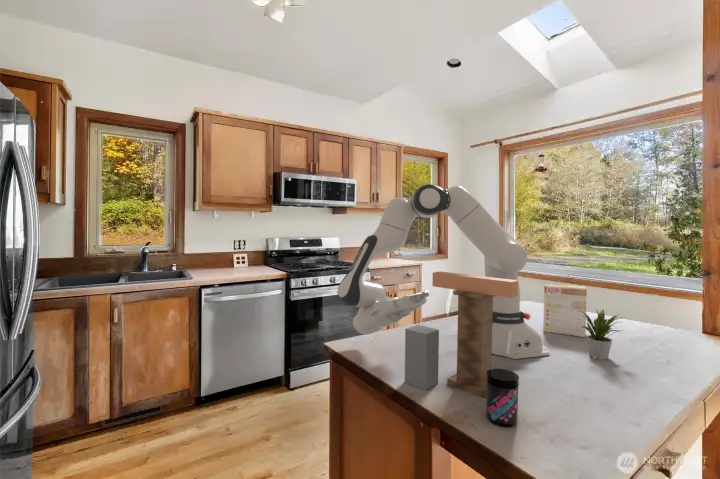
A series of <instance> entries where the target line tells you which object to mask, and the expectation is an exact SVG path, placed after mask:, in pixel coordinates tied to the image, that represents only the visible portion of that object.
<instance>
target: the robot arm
mask: <svg viewBox="0 0 720 479" xmlns="http://www.w3.org/2000/svg"><path fill="white" fill-rule="evenodd" d="M439 213H443V214H445V215H447V216H448V217H450V219H451V221H453V223H454V224H455V225H456V226H457V228H458V229H459V230H460V231H461V233H463V235H464V236H465V237H466V238H467V239H468V240H469V241H470V242H471V244H473V245H474V247H476V249H478V251H479V252H481V254H482V255H483V260H484V263H483V264H484V274H485V276H484V277H493V278H502V279H511V280H518V281H519V278H518V272H519V271H521V270H523V268H524V267H525V266H526V264H527V262H528V253H527V251H526V250H525V248H524V247H523V245H521V244H520V243H519V242H518V241H517V240H516V239H515V238H514V237H513V235H511V234H510V233H509V232H508V231H507V230H506V229H505V228H504V227H503V226H502V225H501V224H500V223H499V222H498V221H497V220H495V218H494V217H493V216H492V215H491V214H490V212H488V211H487V210H486V208H485V207H484V206H483V205H482V204H481V203H480V201H479V200H478V199H477V198H476V197H475V196H474V195H472V194H471V192H469V191H468V190H467V189H466V188H464V187H463V186H461V185H454V186H451V187H449V188H445V187H442V186H439V185H435V184H429V183H427V184H423V185H421V186H419V187H418V188H417V189H416V190H415V191H414V193H413V195H412V196H411V197H410V198H405V197H394V198H392V199H390V201H389V202H388V204H387V206H386V207H385V209H384V211H383V213H382V215H381V218H380V221H379V223H378V226H377V228H376V229H375V230H374V232H373V233H372V234H371V235H368V236H367V237H366V238H365V239H364V241H363V242H362V244H361V246H360V248H359V250H358V252H357V253H356V255H355V257H354V259H353V261H352V264H351V265H350V266H349V269H348V271H347V273H346V274H345V276H344V277H343V279H342V280H341V281H340V283H339V285H338V287H337V296H338V299H339V300H340V303H341V304H343V306H345V307H356V308H358V311H357V313H356V315H355V316H354V317H353V319H352V324H353V327H354V329H355V330H356V332H358V334H362V335H371V334H375V333H377V332H379V331H381V330H382V329H384V328H387V327H390V326H392V325H394V324H396V323H398V322H399V321H401V320H402V319H403V318H406V317H408V316H409V315H411V312H414V311H415V310H417V309H418V308H420V307H422V306H423V305H425V304H426V302H428V300H427V298H428V297H429V296H430V293H429V291H428V290H423V291H422V292H418V293H413V294H407V295H404V296H400V297H396V296H395V297H393V296H388V294H387V291H386V289H385V287H384V286H383V284H381V283H377V282H374V281H368V280H364V279H363V277H364V276H365V273H366V271H367V269H368V268H369V266H370V264H371V262H372V260H373V259H374V258H375V257H377V256H379V255H382V254H388V253H389V254H390V253H393V252H396V251H398V250H400V249H401V248H402V247H404V245H405V243H406V241H407V239H408V235H409V232H410V229H411V227H412V225H413V222H414V221H415V219H421V220H423V219H425V220H426V219H430V218H433V217H436V215H438V214H439ZM520 300H521V287H520V285H519V282H518V296H517V297H514V298H507V297H501V296H495V297H493V316H492V355H497V356H503V357H506V358H509V359H513V360H517V359H519V360H520V359H527V358H535V357H544V356H545V357H546V356H550V350H549V349H548V348H547V347H545V346H544V345H543V340H542V337H541V334H540V333H539V332H538V331H536V330H535V329H534V328H533V327H531V325H529V324H528V323H527V322H526V321H525V319H526V320H527V321H528V320H530V319H531V318H532V317H531V314H530V313H527V312H523V311H521V308H520V306H521V301H520Z"/></svg>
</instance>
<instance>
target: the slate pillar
mask: <svg viewBox="0 0 720 479" xmlns="http://www.w3.org/2000/svg"><path fill="white" fill-rule="evenodd" d="M404 331H405V335H404V339H405V340H404V383H407V384H409V385H411V386H414V387H416V388H419V389H422V390H425V391H427V390H429V389H430V388H432V387H433V386H435V385H437V384H439V350H440V349H439V348H440V346H439V345H440V341H439V340H440V329H437V328H435V327H430V326H426V325H421V324H415V325H413V326H410V327H407V328H405V329H404Z"/></svg>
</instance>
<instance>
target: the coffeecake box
mask: <svg viewBox="0 0 720 479" xmlns="http://www.w3.org/2000/svg"><path fill="white" fill-rule="evenodd" d="M543 292H544V293H543V294H544V295H543V324H542V325H543V326H542V327H543V332H545V333H546V332H547V333H552V334H560V335H565V336H566V335H567V336H572V335H573V336H574V337H579V338H580V337H581V338H586V330H587V329H585V328H581V327H582V326H586V327H587V320H586V319H587V318H586V316H585V315H584V314H583V313H582V312H581V311H583V312H584V313H585V314H587V286H581V285H571V284H570V285H568V284H556V283H545V285H544V290H543ZM582 315H583V316H584V317H583V316H582ZM573 336H572V337H573Z"/></svg>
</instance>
